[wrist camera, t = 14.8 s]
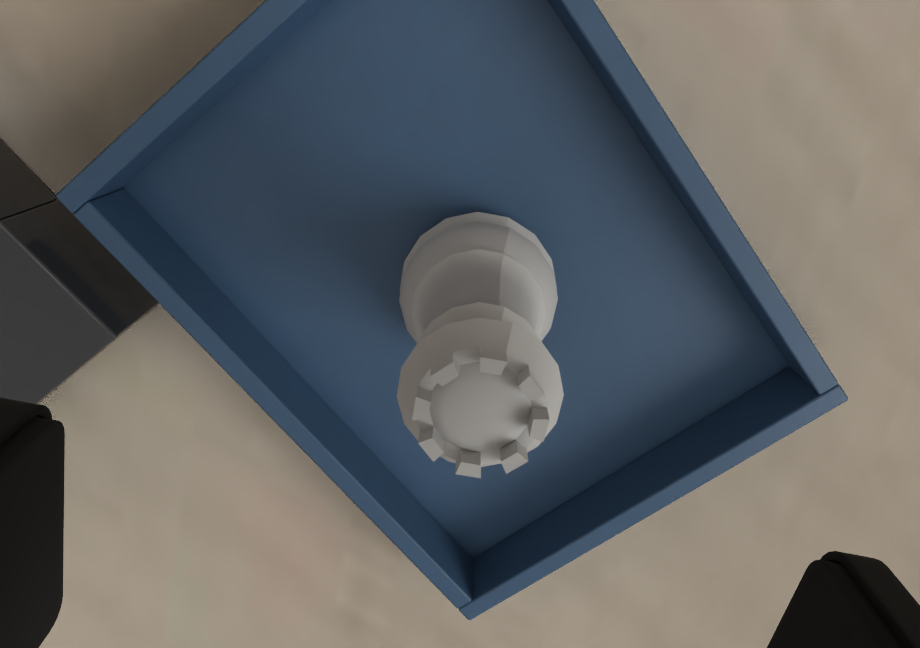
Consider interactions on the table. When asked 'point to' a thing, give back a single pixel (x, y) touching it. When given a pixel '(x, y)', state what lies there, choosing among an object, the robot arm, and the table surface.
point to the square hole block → (54, 288)
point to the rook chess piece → (479, 343)
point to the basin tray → (421, 208)
